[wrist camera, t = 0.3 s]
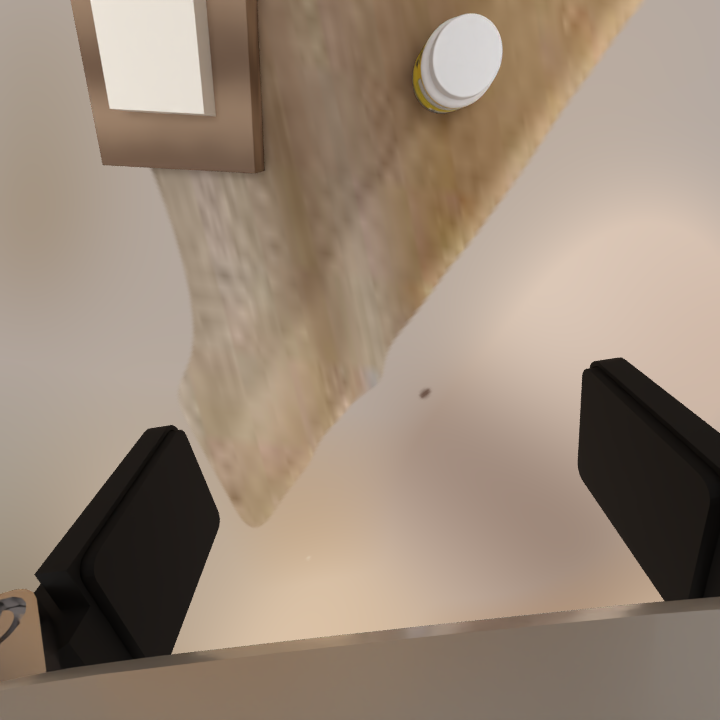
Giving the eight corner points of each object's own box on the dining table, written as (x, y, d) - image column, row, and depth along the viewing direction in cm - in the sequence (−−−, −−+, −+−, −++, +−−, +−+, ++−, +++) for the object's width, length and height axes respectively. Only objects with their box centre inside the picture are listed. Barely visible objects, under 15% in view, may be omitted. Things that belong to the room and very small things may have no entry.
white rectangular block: (100, -62, 26) (75, -81, 24) (201, -55, 26) (186, -74, 24) (128, 111, 30) (109, 108, 28) (215, 116, 30) (204, 114, 28)
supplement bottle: (449, 20, 31) (479, -21, 23) (488, 79, 32) (527, 58, 25) (397, 75, 32) (409, 53, 24) (437, 128, 33) (459, 123, 26)
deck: (85, -72, 28) (51, -99, 25) (254, -61, 29) (241, -86, 25) (126, 163, 35) (102, 165, 31) (264, 170, 35) (254, 173, 32)
